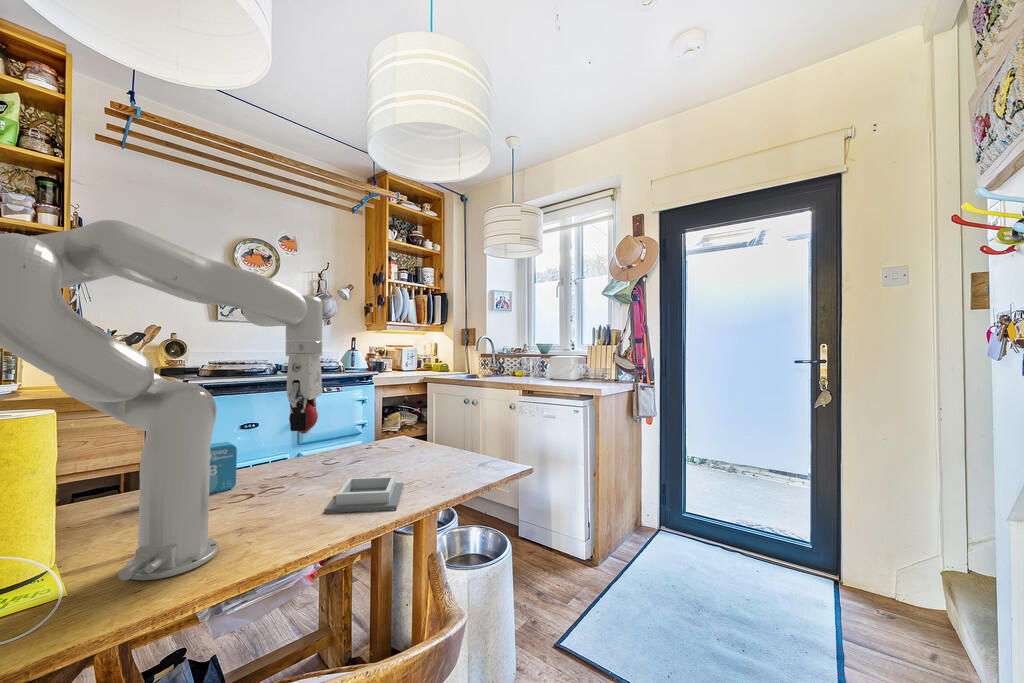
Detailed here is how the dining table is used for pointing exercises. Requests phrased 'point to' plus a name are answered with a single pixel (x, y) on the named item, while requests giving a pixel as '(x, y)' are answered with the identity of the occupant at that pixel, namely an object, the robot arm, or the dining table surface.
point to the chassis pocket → (366, 495)
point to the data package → (222, 467)
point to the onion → (309, 417)
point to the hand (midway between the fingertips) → (303, 426)
